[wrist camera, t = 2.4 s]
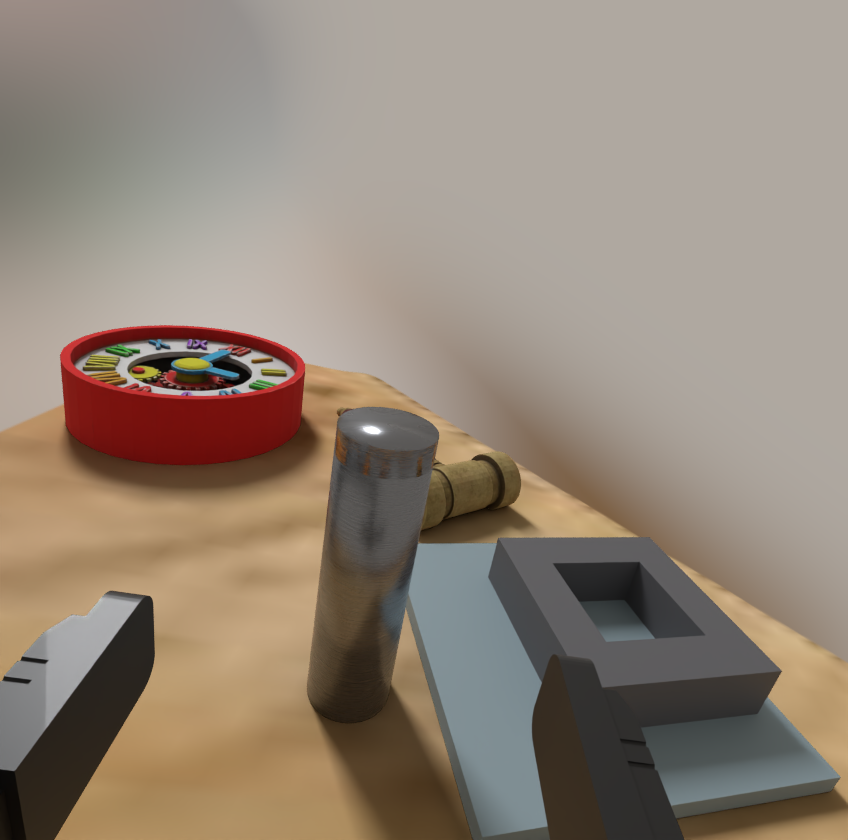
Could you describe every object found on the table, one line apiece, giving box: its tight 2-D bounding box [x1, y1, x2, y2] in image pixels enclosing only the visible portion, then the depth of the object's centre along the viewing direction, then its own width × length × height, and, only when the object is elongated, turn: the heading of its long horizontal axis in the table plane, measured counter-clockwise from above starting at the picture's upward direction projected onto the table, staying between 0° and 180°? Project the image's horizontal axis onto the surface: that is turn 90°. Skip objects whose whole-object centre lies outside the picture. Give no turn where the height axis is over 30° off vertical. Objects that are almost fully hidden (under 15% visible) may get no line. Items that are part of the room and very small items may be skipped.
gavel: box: [337, 407, 521, 530], centre depth 49 cm, size 21×5×10 cm
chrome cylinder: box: [307, 407, 439, 723], centre depth 24 cm, size 4×4×14 cm
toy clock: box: [60, 325, 305, 465], centre depth 51 cm, size 20×6×20 cm
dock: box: [406, 537, 841, 840], centre depth 31 cm, size 18×18×4 cm
